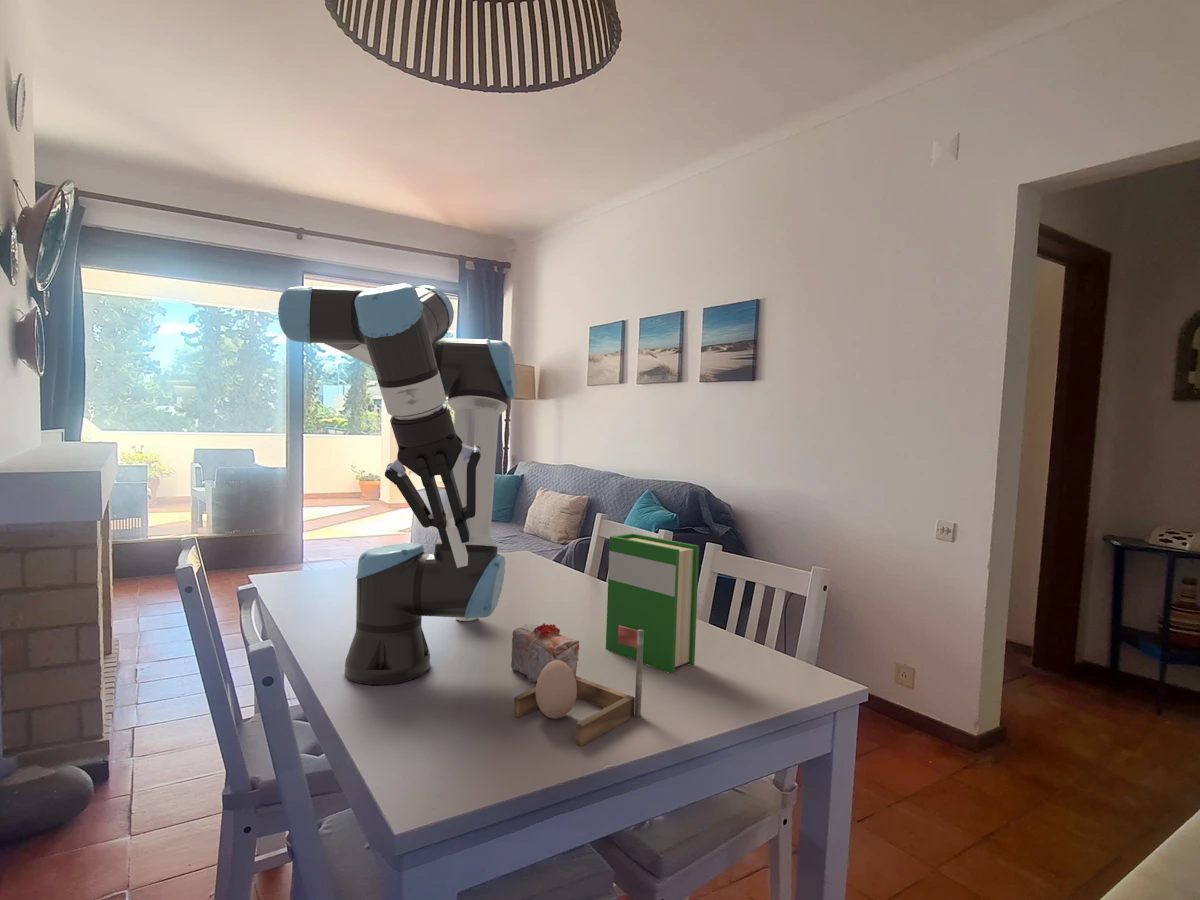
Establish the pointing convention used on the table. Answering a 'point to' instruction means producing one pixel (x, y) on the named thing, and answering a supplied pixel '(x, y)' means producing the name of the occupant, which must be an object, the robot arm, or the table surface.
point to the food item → (541, 649)
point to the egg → (556, 689)
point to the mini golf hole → (599, 696)
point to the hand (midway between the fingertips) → (462, 561)
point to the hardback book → (653, 598)
